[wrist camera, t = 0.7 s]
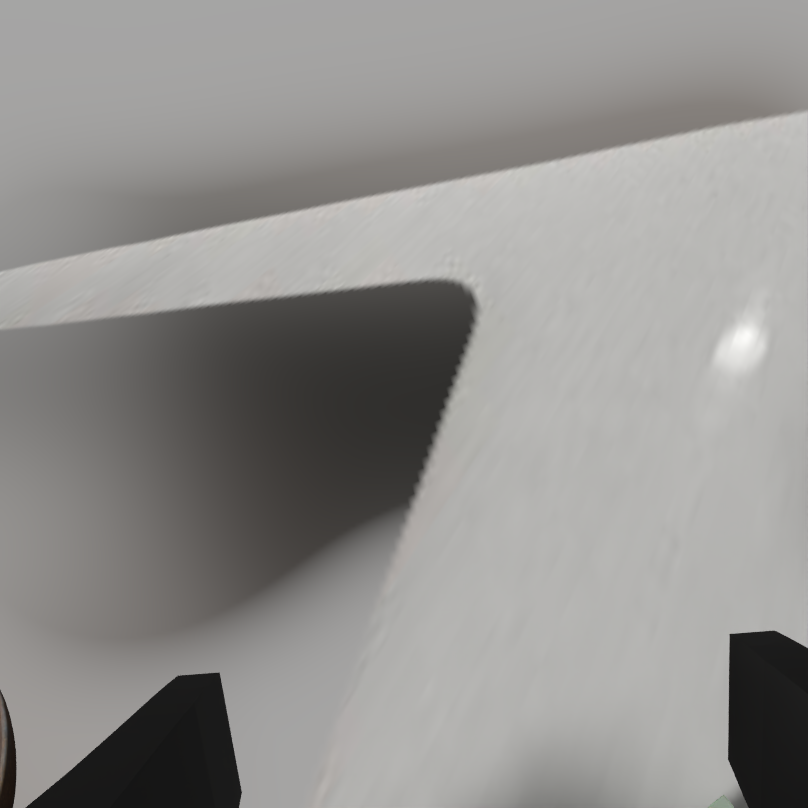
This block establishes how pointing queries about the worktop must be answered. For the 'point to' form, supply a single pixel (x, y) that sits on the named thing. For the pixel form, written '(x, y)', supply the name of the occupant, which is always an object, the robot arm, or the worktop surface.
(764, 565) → the worktop surface
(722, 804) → the tray
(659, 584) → the worktop surface
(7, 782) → the plant saucer
